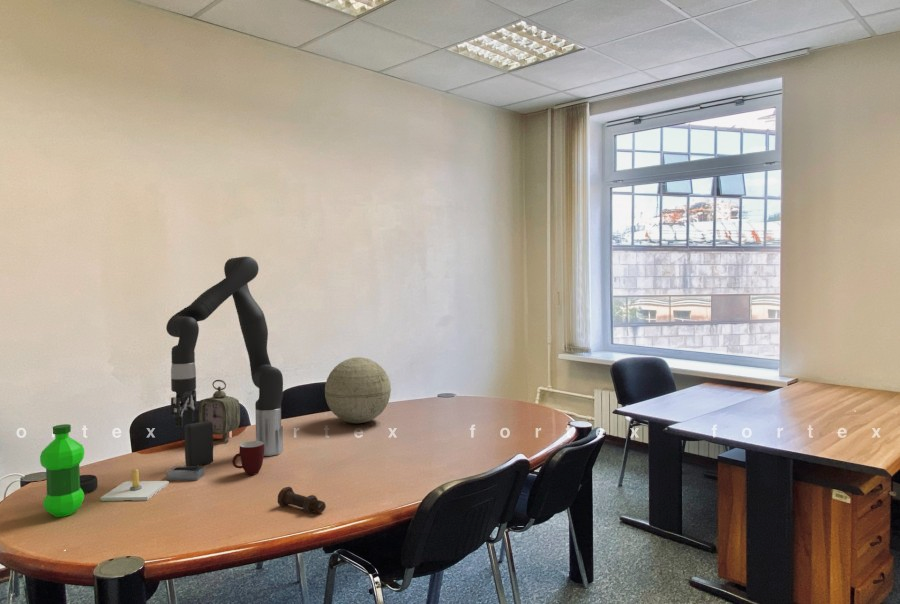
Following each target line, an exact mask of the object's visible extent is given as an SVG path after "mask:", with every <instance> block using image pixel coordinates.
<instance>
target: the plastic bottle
mask: <svg viewBox="0 0 900 604" xmlns="http://www.w3.org/2000/svg"><path fill="white" fill-rule="evenodd" d="M71 429H72V426H71V424H68V423H67V424H66V423H65V424H63V423H62V424H57V425H54V426H53V427H52V434H53V435H54V439H53V440H52V441H51V442H50V443H49V444H47V446H45V448H44V449H43V450H41V453H40V455H39V456H40V457H39V462H40V465H41V467H43V468H44V469H45V471H46V473H45V474H46V478H45V479H46V495H45V497H44V499H43V501H42V506H43V507H42V508H44V511H46V512H47V513H49V514H50V515H53V516H54V517H56V518H61V517H63V518H64V517H67V516H71V515H72V514H75V513H76V511H77V510H78V509H80V508H81V506H82V504H83V502H84V501H85V494H84V492H83V490H82V489H81V488H80V475H81V473H80V472H81V471H80V464H81V462H82V461H83V459H84V456H85V447H84V446H83V444H81V442H78V441H77V440H76V439H74V438H71V437H69V436H70V433H71V431H72V430H71Z"/></svg>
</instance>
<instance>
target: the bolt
mask: <svg viewBox="0 0 900 604" xmlns="http://www.w3.org/2000/svg"><path fill="white" fill-rule="evenodd" d="M277 503H278V504H279V506H280V507H282V508H284V507H287V506H289V505H291V506H295V507H298V508H301V509H303V511H304V512H305V513H307V514H311V513H313V512H315V513H318V514H322V513H323V512H324V511H325V509H326V507H327V505H326V502H325V501H323V500H319V499H318V497H317V496H316V495H314V494H311V495H308V496H306V495H301V494H298V493H295V492H294V490H293V488H292V486H285V487H283V488H282V489H280V491H279V492H278V494H277Z"/></svg>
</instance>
